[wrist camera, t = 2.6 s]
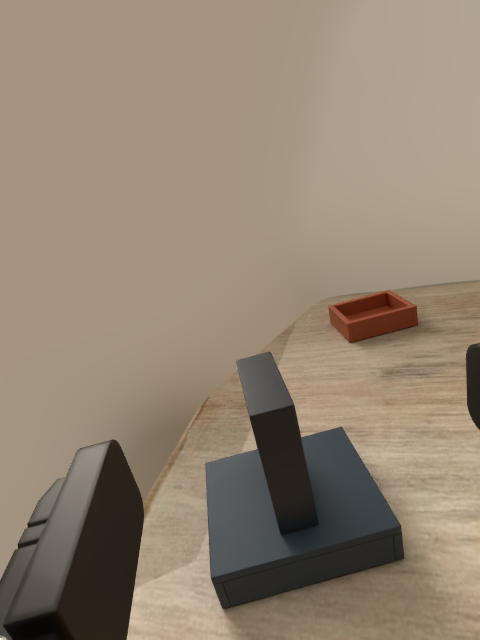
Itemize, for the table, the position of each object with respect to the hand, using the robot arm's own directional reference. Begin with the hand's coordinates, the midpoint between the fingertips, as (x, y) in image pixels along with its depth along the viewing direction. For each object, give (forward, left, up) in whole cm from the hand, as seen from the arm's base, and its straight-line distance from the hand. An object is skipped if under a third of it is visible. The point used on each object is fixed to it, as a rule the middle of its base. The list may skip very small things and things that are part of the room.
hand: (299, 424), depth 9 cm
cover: (-9, +7, -16) cm, 19 cm away
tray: (-19, +34, -16) cm, 42 cm away
